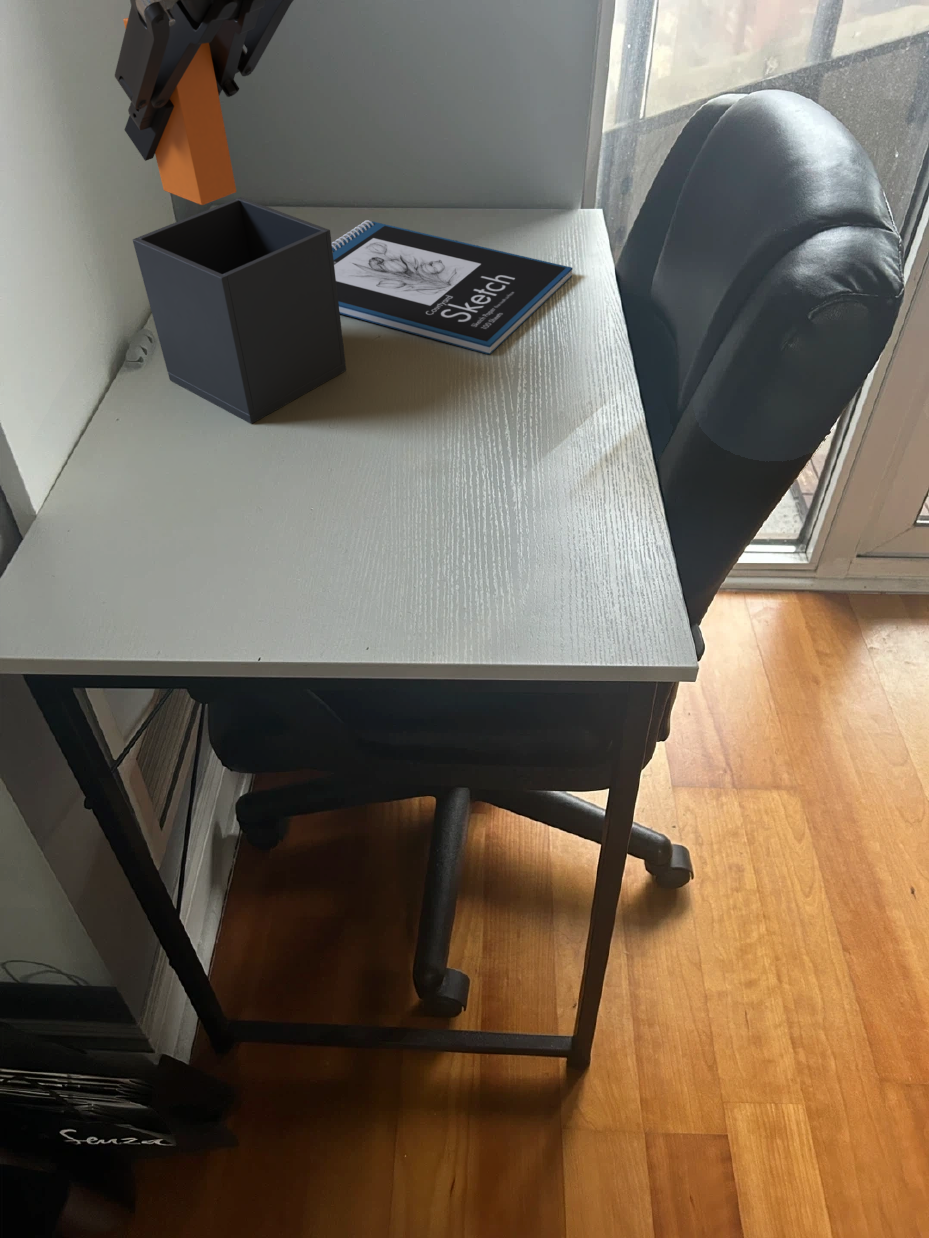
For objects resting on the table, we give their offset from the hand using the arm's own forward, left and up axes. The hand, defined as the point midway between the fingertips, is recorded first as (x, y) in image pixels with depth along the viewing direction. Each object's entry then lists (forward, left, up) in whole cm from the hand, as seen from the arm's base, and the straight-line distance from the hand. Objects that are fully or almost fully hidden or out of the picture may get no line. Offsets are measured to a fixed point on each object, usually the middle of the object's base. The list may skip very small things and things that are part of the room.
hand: (160, 136), depth 75 cm
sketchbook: (+33, +9, -27) cm, 43 cm away
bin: (+7, +5, -26) cm, 28 cm away
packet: (0, -4, -3) cm, 5 cm away
